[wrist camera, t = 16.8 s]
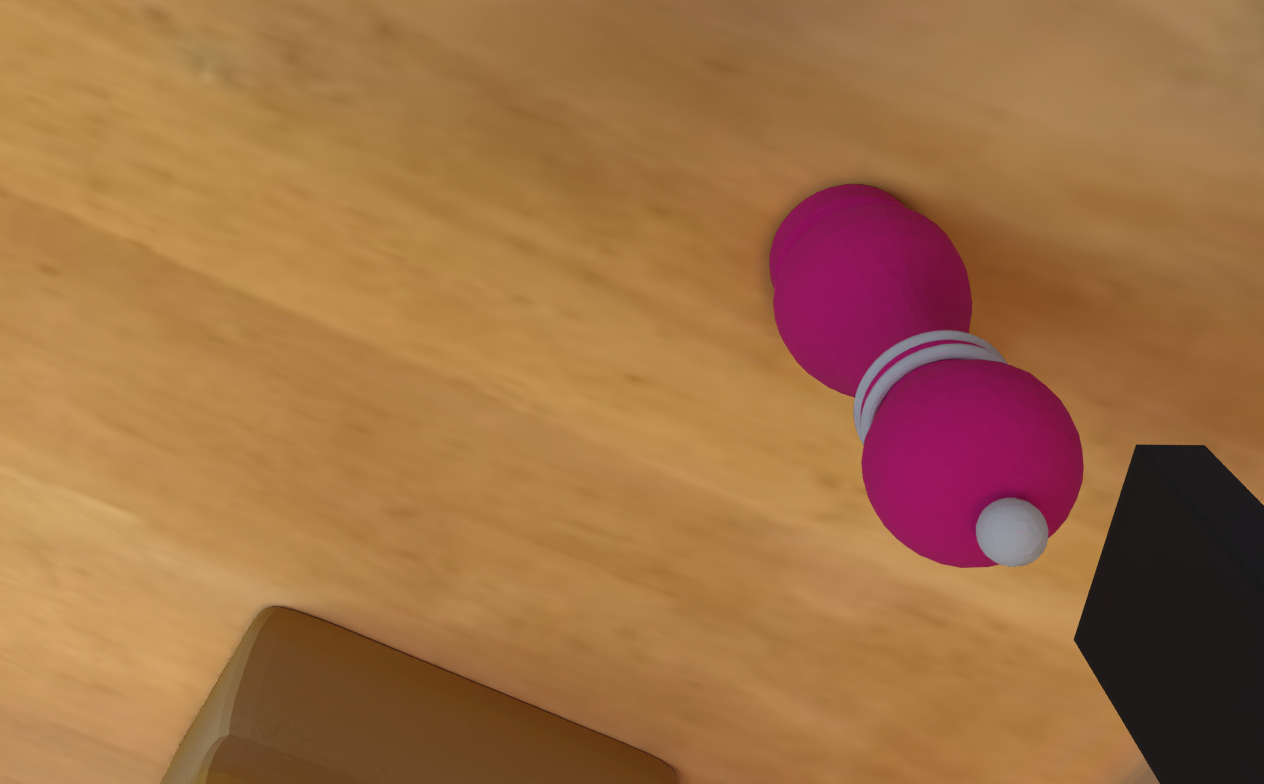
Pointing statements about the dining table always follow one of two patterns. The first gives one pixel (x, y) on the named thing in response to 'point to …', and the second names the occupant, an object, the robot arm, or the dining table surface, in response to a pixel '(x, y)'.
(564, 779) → the bread
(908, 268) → the pepper mill
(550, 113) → the dining table surface
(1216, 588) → the robot arm
